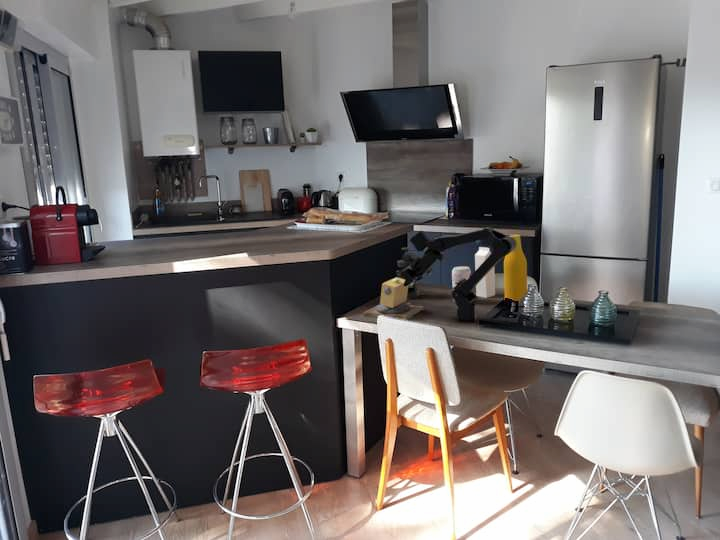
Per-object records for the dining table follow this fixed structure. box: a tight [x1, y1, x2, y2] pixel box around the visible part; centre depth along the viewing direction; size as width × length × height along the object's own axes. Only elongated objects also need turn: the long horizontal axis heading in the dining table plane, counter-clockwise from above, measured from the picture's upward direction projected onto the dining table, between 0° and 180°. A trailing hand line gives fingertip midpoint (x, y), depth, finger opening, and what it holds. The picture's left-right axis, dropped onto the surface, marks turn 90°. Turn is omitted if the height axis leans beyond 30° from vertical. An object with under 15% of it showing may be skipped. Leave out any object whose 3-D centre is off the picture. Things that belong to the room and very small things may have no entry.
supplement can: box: [451, 265, 472, 302], centre depth 247 cm, size 8×8×15 cm
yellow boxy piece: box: [379, 276, 409, 308], centre depth 237 cm, size 6×13×10 cm, turn 148°
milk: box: [474, 246, 496, 299], centre depth 253 cm, size 6×6×22 cm
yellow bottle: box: [503, 234, 528, 301], centre depth 235 cm, size 9×9×29 cm
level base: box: [362, 301, 425, 320], centre depth 239 cm, size 20×16×4 cm
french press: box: [395, 247, 420, 299], centre depth 262 cm, size 12×9×23 cm
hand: (404, 285), depth 234 cm, fingers closed
